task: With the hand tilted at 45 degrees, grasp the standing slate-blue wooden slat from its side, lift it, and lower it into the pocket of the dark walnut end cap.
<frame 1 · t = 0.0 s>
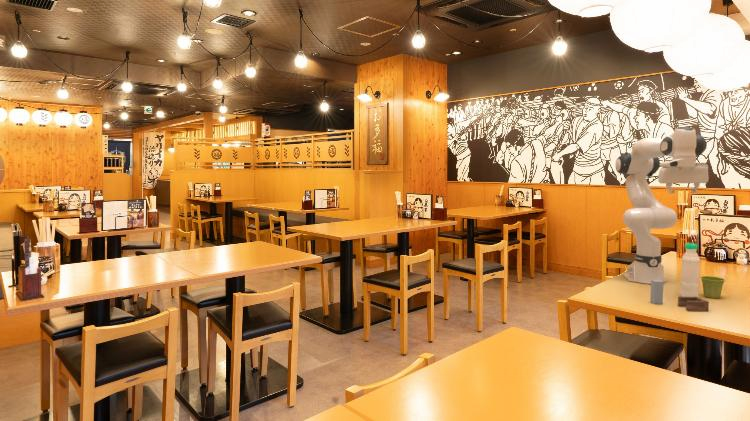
hand: (682, 193, 217), 48 cm above the table, tool pointing down, fingers open, 8 cm apart
plant pot: (711, 297, 221), on the table
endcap: (692, 308, 203), on the table
slat: (656, 302, 212), on the table
water bottle: (689, 297, 220), on the table
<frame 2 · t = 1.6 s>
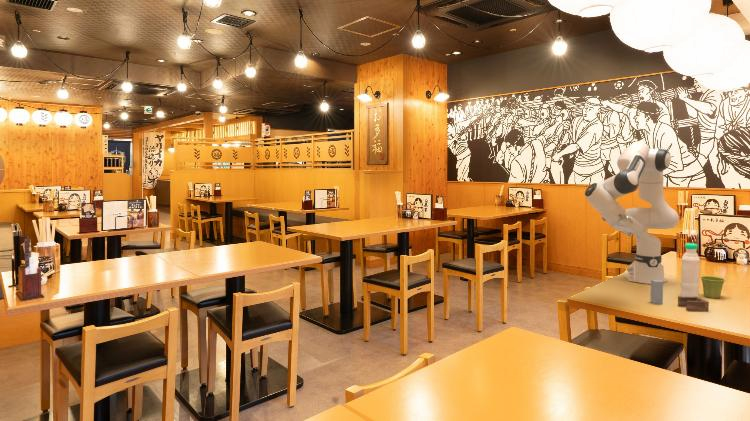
hand: (636, 236, 212), 29 cm above the table, tool tilted 45°, fingers open, 8 cm apart
nothing on the table moved.
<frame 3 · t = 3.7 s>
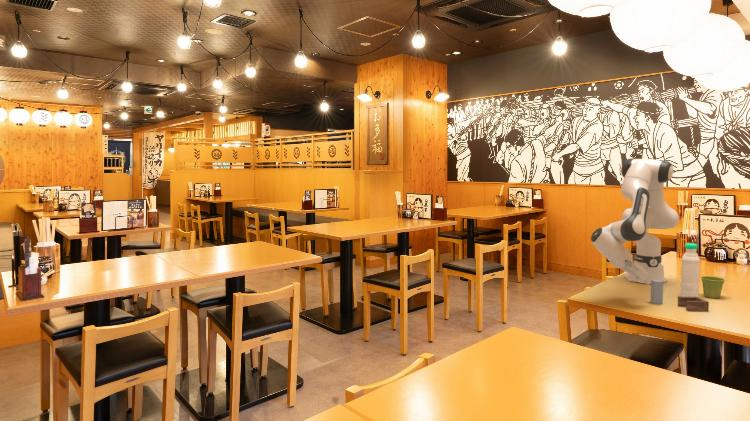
hand: (643, 280, 212), 10 cm above the table, tool tilted 45°, fingers open, 8 cm apart
nothing on the table moved.
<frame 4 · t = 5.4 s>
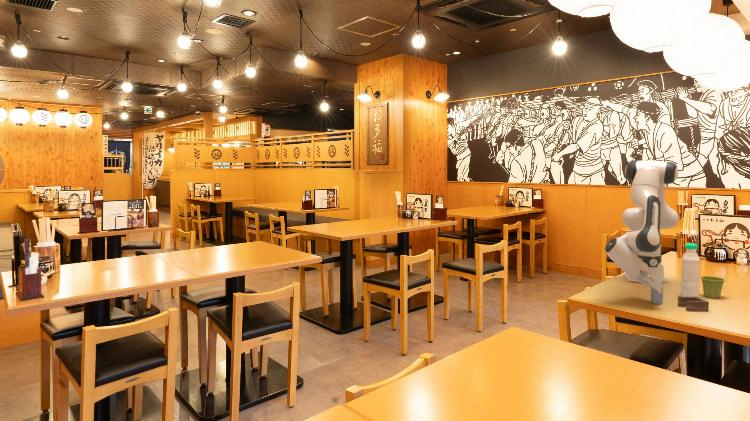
hand: (658, 291, 211), 5 cm above the table, tool tilted 45°, fingers closed on slat, 3 cm apart
slat: (656, 302, 212), on the table, touching gripper
everything else where it was.
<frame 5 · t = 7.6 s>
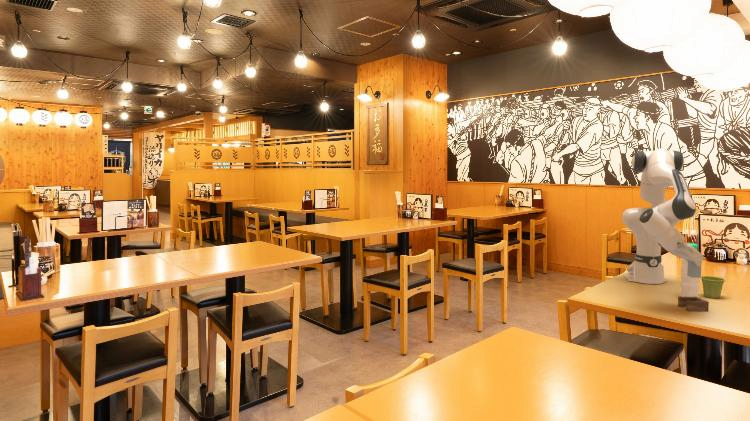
hand: (696, 264, 201), 19 cm above the table, tool tilted 45°, fingers closed on slat, 3 cm apart
slat: (693, 276, 202), point 14 cm above the table, touching gripper
everything else where it was.
when the fingers open (7 cm above the table, at t = 10.1 s): slat drops 1 cm, resting in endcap.
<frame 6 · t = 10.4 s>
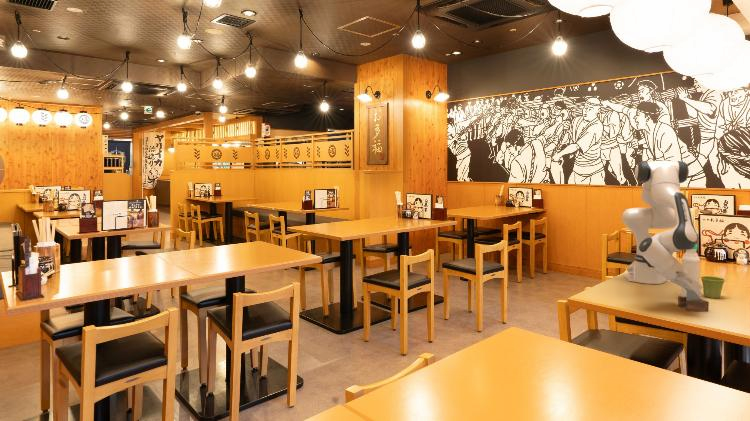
hand: (695, 292, 202), 7 cm above the table, tool tilted 45°, fingers open, 7 cm apart
slat: (692, 308, 203), resting in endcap
everything else where it was.
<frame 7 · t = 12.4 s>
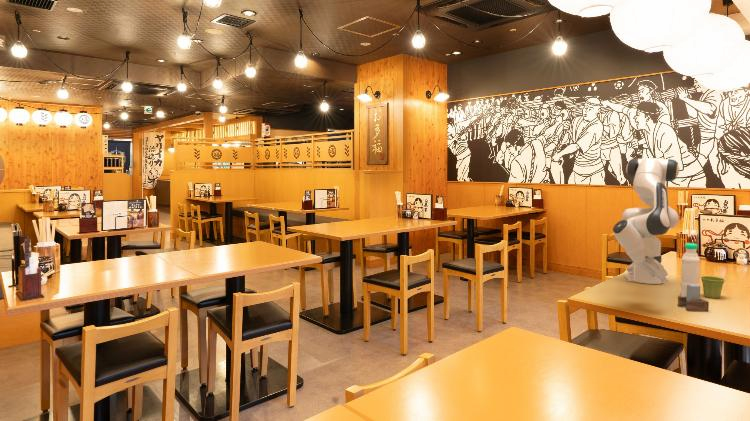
hand: (659, 278, 205), 12 cm above the table, tool tilted 40°, fingers open, 8 cm apart
nothing on the table moved.
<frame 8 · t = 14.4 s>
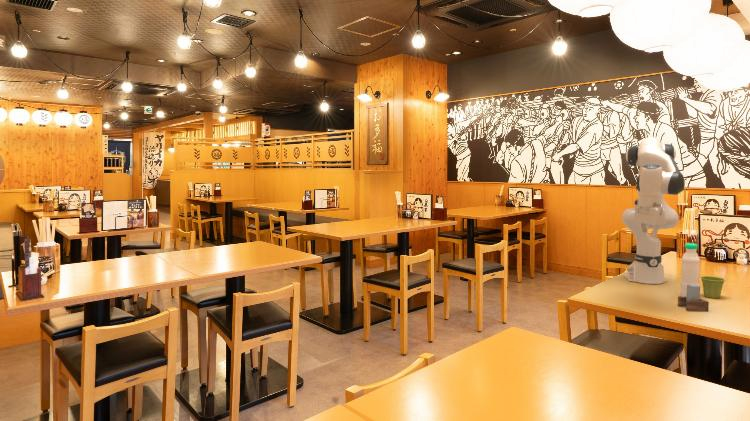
hand: (649, 234, 208), 31 cm above the table, tool pointing down, fingers open, 8 cm apart
nothing on the table moved.
at the end: slat 0.3 cm off-centre on the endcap, point 0.0 cm above the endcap's base; slat tilted 0°; the gripper is holding nothing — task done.
